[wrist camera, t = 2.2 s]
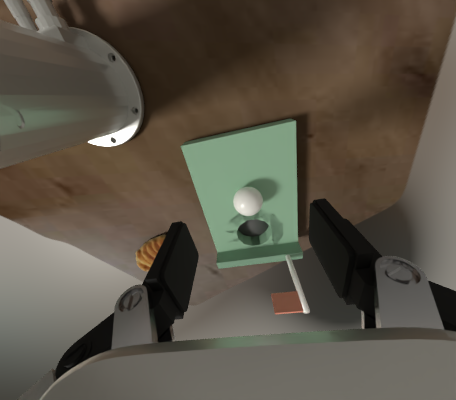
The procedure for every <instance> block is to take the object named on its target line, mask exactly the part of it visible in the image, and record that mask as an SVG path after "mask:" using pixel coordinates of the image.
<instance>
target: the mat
mask: <svg viewBox="0 0 456 400" xmlns="http://www.w3.org/2000/svg"><path fill="white" fill-rule="evenodd" d="M181 148H182V151H183V154H184V157H185V160H186V163H187V165H188V168H189V171H190V174H191V177H192V180H193V183H194V186H195V189H196V191H197V194H198V197H199V200H200V203H201V206H202V209H203V212H204V215H205V217H206V220H207V223H208V226H209V229H210V232H211V235H212V238H213V241H214V243H215V246H216V249H217V252H218V254H217V266H218V268H219V269H220V268H228V267H236V266H244V265H252V264H261V263H269V262H277V261H285V260H286V257H285V256H286V255H290V257H291V260H293V259H302V258H303V252H302V250H301V247H300V245H299V243H298V213H297V153H296V121H295V120H293V119H286V120H281V121H277V122H272V123H268V124H263V125H259V126H255V127H250V128H246V129H241V130H237V131H232V132H228V133H223V134H219V135H214V136H210V137H205V138H201V139H196V140H192V141H188V142H185V143H184V144H183V145H182V146H181ZM243 187H253V188H255V189H257V190H258V191H259V192H260V193H261V195H262V198H263V204H262V207H261V209H260V211H259V212H258V213H256V214H255V215H252V216H244V215H242V214H240V213H239V212H237V210H236V209H235V207H234V203H233V199H234V196H235V194H236V192H237V191H238V190H239V189H241V188H243ZM268 225H269V226H268ZM243 234H244V235H243Z"/></svg>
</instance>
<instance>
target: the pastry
mask: <svg viewBox="0 0 456 400" xmlns="http://www.w3.org/2000/svg"><path fill="white" fill-rule="evenodd" d="M165 237H166V235H165V234H164V235H161V236H158V237H156V238H151V239H150V240H149V241H147V242H145V243H144V244H143V246H142V247H141V248H140V249H139V250H137V251H136V260H137V265H138V266H139V267H140V268H141V269H142V270H144V271H149V269H150V267H151V265H152V263H153V261H154V259H155V257H156V255H157V253H158V251H159V249H160V247H161V245H162V243H163V241H164V239H165Z"/></svg>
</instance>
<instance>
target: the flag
mask: <svg viewBox="0 0 456 400" xmlns="http://www.w3.org/2000/svg"><path fill="white" fill-rule="evenodd" d="M285 257H286V260H287V263H288V266H289V269H290V272H291V275H292V278H293V282H294V284H295V288H296V291H294V292H284V293H274V294H271V296H272V301H273V307H274V311H275V314H285V313H297V312H304V313H305V314H307V313H309V312H310V310H309V307H308V304H307V302H306V299H305V296H304V293H303V291H302V288H301V285H300V282H299V279H298V276H297V274H296V271H295V268H294V265H293V263H292V260H291V257H290V255H286V256H285Z"/></svg>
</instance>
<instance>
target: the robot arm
mask: <svg viewBox="0 0 456 400" xmlns="http://www.w3.org/2000/svg"><path fill="white" fill-rule="evenodd" d="M27 1H28V2H29V3H30V5H31V7H32V8H33V10H34V12H35V14H36V16H37V17H38V18H36V19H35V23H36V24H37V26H38V28H39V31H38V29H37V27H36V25H35V24H34V22H33V19H32V17H31V15H30V13H29V12H28V10H27V8H26V6H25V5H24V3H23V1H22V0H4V2H5V4H6V5H7V7H8V9H9V10H10V12H11V14H12V15H13V17H14V18H15V20H17V22H18V24H19V25H20V26H18V25H15V24H12V23H9V22H6V21H3V20H0V169H1V168H4V167H8V166H11V165H14V164H17V163H21V162H24V161H27V160H30V159H34V158H37V157H40V156H43V155H46V154H50V153H53V152H56V151H59V150H63V149H66V148H69V147H72V146H76V145H79V144H82V143H85V142H88V143H91V144H94V145H98V146H105V147H110V146H117V145H121V144H123V143H125V142H128V141H129V140H130V139H132V138H133V137H134V136H135V135H136V134H137V132H138V131H139V129H140V127H141V125H142V122H143V117H144V101H143V94H142V91H141V88H140V85H139V82H138V80H137V78H136V76H135V74H134V72H133V70H132V69H131V67H130V66H129V64H128V63H127V61H126V60H125V59H124V58H123V56H122V55H121V54H120V53H119V52H118V51H117V50H116V49H115V48H114V47H113V46H111V45H110V44H109V43H108V42H106V41H105V40H103V39H101V38H100V37H98V36H97V35H94V34H92V33H90V32H88V31H85V30H82V29H78V28H75V27H68V25H67V23H66V21H65V20H64V19H63V18H60V17H59V16H58V14H57V12H56V10H55V8H54V6H53V4H52V0H27ZM114 58H116V60H115V59H114ZM136 109H138V112H137V111H136ZM309 241H310V244H311V245H312V247H313V249H314V251H315V253H316V255H317V257H318V259H319V261H320V262H321V264H322V266H323V268H324V270H325V272H326V274H327V276H328V277H329V280H330V281H331V283H332V285H333V287H334V289H335V291H336V293H337V294H338V296H339V297H340V298H343V299H344V301H345V302H346V304H347V305H350V304H355V305H356V306H357V308H358V309H360V310H361V311H362V329H350V330H333V331H317V332H301V333H286V334H271V335H257V336H243V337H228V338H214V339H200V340H186V341H175V336H174V332H173V327H172V324H173V323H174V320H175V319H183V315H184V312H186V311H187V309H188V304H189V300H190V295H191V290H192V286H193V281H194V276H195V272H196V267H197V262H198V251H197V249H196V247H195V244H194V242H193V240H192V237H191V235H190V233H189V230H188V228H187V225H186V224H185V223H183V222H174V223H172V224H171V226H170V228H169V230H168V233H167V235H166V237H165V239H164V241H163V243H162V245H161V247H160V249H159V251H158V253H157V255H156V257H155V259H154V261H153V263H152V265H151V267H150V269H149V271H148V274H147V276H146V278H145V280H144V282H143V284H142V285H135V286H133V287H131V288H129V289H128V290H126V291H125V292H124V293H123V294H122V295H121V296H120V298H119V299H118V300H117V303H116V305H115V311H114V313H113V314H111V315H110V316H109V317H107V318H106V319H105V320H104V321H102V322H101V323H100V324H99V325H97V326H96V327H95V328H93V329H92V330H91V331H89V332H88V333H87V334H86V335H84V336H83V337H82V338H81V339H79V340H78V341H77V342H76V343H74V344H73V345H72V346H71V347H70V348H69V349H68V350H67V351H66V352H65V354H64V355H63V357H62V358H61V359H60V361H59V363H58V366H57V368H56V370H53V369H51V370H50V371H49V372H48V373H47V374H45V375H44V376H43V377H42V378H41V379H40V380H39V381H38V382H37V383H35V384H34V385H33V386H32V387H31V388H30V389H29V390H27V391H26V392H25V393H24V394H23V395H22V396H21V397H20V398H18V399H17V400H456V291H454V290H451V289H449V288H446V287H443V286H441V285H438V284H435V283H433V282H430V281H428V280H427V277H426V275H425V274H424V272H423V271H422V270H421V269H420V268H419V267H418V266H416V265H415V264H413V263H412V262H409V261H407V260H405V259H402V258H399V257H393V256H384V257H382V256H381V255H380V254H379V252H378V251H377V250H376V249H375V248H374V247H373V246H372V245H371V244H370V243H369V242H368V241H367V240H366V239H365V238H364V237H363V235H362V234H361V233H360V232H359V231H358V230H357V229H356V228H355V227H354V226H353V225H352V224H351V223H350V221H348V220H347V219H343V218H342V217H341V215H340V214H339V213H338V212H337V211H336V210H335V209H334V208H333V207H332V206H331V204H330V203H329V202H328V201H327V200H326V199H318V200H314V201H313V203H310V220H309Z"/></svg>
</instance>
